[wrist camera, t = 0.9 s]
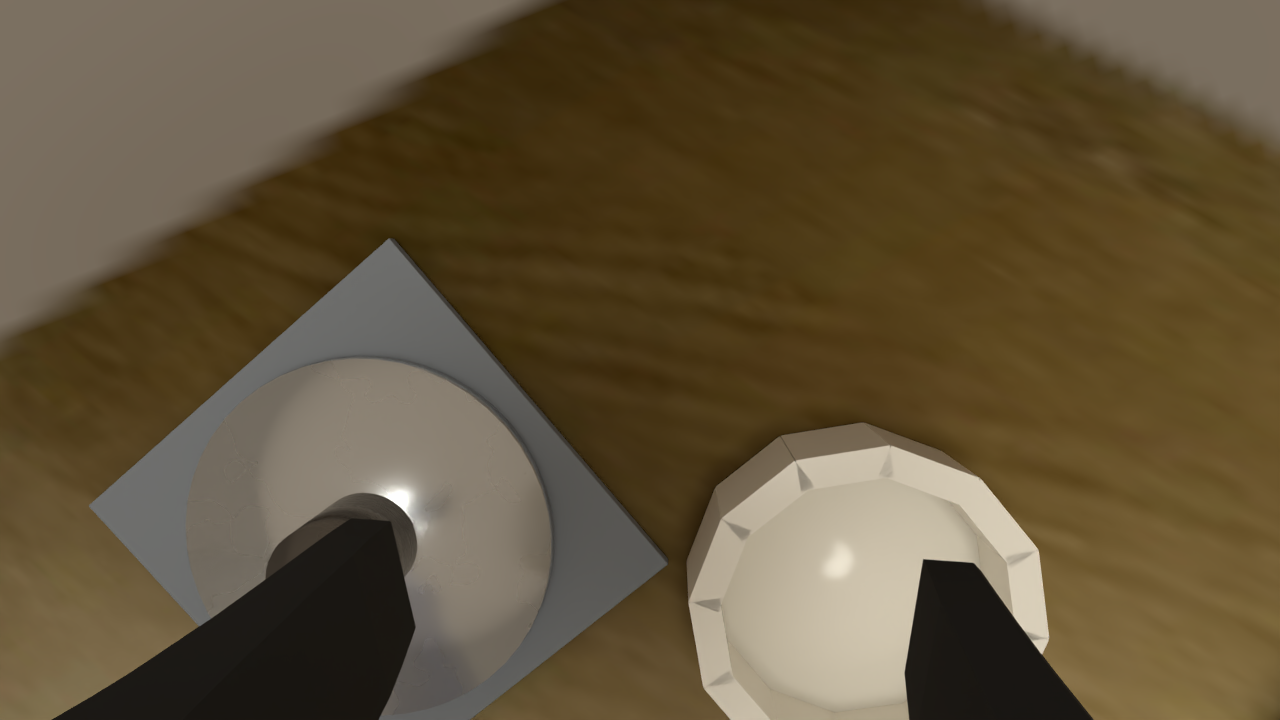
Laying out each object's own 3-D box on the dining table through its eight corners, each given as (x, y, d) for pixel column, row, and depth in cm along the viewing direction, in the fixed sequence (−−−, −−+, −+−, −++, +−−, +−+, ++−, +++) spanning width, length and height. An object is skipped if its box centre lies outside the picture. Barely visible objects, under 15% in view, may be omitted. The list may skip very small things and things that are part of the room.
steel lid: (364, 768, 30) (313, 854, 26) (126, 509, 29) (31, 553, 25) (628, 559, 28) (620, 613, 24) (386, 279, 27) (333, 283, 23)
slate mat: (367, 795, 30) (362, 804, 30) (98, 501, 29) (88, 505, 29) (668, 558, 29) (667, 564, 28) (394, 238, 28) (389, 238, 27)
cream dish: (818, 775, 30) (837, 843, 26) (629, 555, 29) (623, 595, 25) (1061, 598, 28) (1116, 645, 25) (871, 363, 28) (899, 378, 24)
